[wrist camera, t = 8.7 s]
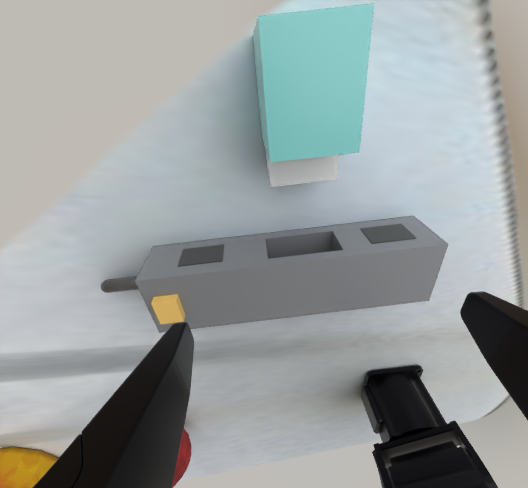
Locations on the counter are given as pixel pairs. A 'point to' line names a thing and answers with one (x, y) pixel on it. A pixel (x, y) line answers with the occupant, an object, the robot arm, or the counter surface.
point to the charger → (311, 89)
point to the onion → (182, 457)
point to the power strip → (288, 273)
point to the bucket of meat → (23, 466)
